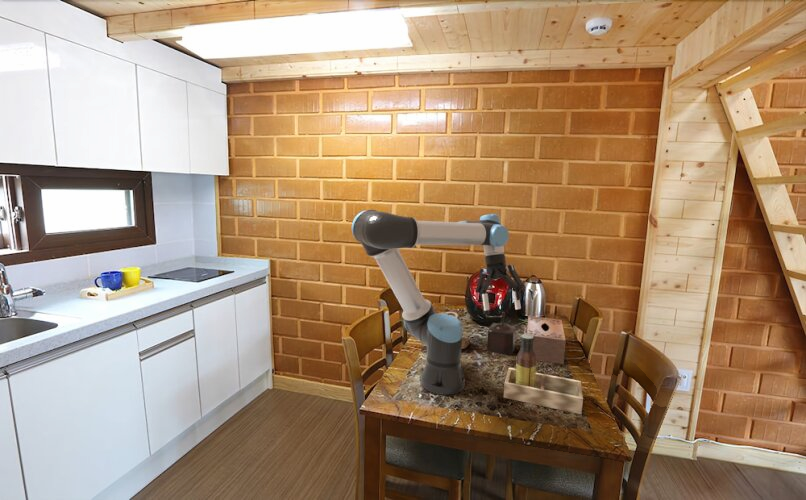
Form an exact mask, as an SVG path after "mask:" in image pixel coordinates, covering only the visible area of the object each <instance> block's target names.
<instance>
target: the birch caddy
mask: <svg viewBox="0 0 806 500" xmlns="http://www.w3.org/2000/svg"><path fill="white" fill-rule="evenodd" d="M503 386H504V387H503V399H509V400H514V401H517V402H524V403H527V404H533V405H536V406H541V407H545V408H550V409H554V410H559V411H563V412H569V413H573V414H579V415H582V412H583V411H582V410H583V402H584V398H583V390H582V382H581V380H576V379H572V378H566V377H562V376H561V377H560V376H556V375H551V374H545V373H539V372H536V379H535V388H533V387H529V386H524V385H519V384H516V368H514V367H508V369H507V373H506V376H505V381H504V385H503Z"/></svg>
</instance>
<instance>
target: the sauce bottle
mask: <svg viewBox="0 0 806 500" xmlns="http://www.w3.org/2000/svg"><path fill="white" fill-rule="evenodd" d="M533 341H534V337H533V336H532V335H528V334H527V333H523V334H521V335H520V348H519V352H518V353H517V354H516V355H517V356H516V360H515V361H516V364H515V366H516V367H515V369H516V384H519V385H524V386H529V387H533V388H535V379H536V373H537V363H536V362H537V360H536V355H535V353H534V351H533Z"/></svg>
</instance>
